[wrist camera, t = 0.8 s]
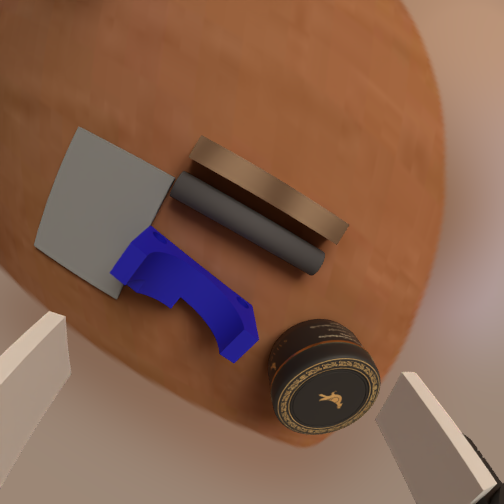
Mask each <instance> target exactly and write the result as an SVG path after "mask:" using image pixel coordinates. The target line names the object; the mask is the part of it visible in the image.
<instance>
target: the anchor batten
mask: <svg viewBox="0 0 504 504" xmlns="http://www.w3.org/2000/svg"><path fill="white" fill-rule="evenodd" d="M189 158H191V159H193V160H194V161H196V162H198V163H200V164H202V165H203V166H205V167H207V168H209V169H211V170H212V171H214V172H216V173H218V174H220V175H221V176H223V177H225V178H227V179H228V180H230V181H232V182H234V183H235V184H237V185H239V186H241V187H242V188H244V189H246V190H248V191H249V192H251V193H253V194H254V195H256V196H258V197H260V198H261V199H263V200H265V201H266V202H268V203H270V204H271V205H273V206H275V207H276V208H278V209H280V210H281V211H283V212H285V213H286V214H288V215H290V216H291V217H293V218H295V219H296V220H298V221H300V222H301V223H303V224H304V225H306V226H308V227H309V228H311V229H313V230H314V231H316V232H317V233H319V234H321V235H322V236H324V237H325V238H327V239H328V240H330V241H332V242H333V243H335V244H336V245H337V244H338V242H339V241H340V239H341V238H342V236H343V234H344V233H345V231H346V230H347V228H348V226H349V224H348V223H346V222H345V221H343V220H342V219H340V218H339V217H337V216H336V215H334V214H333V213H331V212H330V211H328V210H327V209H325V208H323V207H322V206H320V205H319V204H317V203H316V202H314V201H313V200H311V199H310V198H308V197H306V196H305V195H303V194H302V193H300V192H298V191H297V190H295V189H294V188H292V187H290V186H289V185H287V184H286V183H284V182H282V181H281V180H279V179H277V178H276V177H274V176H272V175H271V174H269V173H267V172H266V171H264V170H262V169H261V168H259V167H257V166H256V165H254V164H252V163H250V162H249V161H247V160H245V159H243V158H242V157H240V156H238V155H236V154H235V153H233V152H231V151H229V150H228V149H226V148H224V147H222V146H220V145H219V144H217V143H215V142H213V141H211V140H209V139H208V138H206V137H204V136H202V135H201V137H200V138H199V140H198V142H197V143H196V145H195V147H194V148H193V150H192V152H191V154H190V155H189Z"/></svg>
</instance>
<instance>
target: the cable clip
mask: <svg viewBox="0 0 504 504" xmlns="http://www.w3.org/2000/svg"><path fill="white" fill-rule="evenodd" d="M110 274H111V275H113V276H114V277H115V278H116V279H117V280H119V281H120V282H121V283H122V284H124V285H128V286H129V287H130V288H131V289H133V290H134V291H135V292H137V293H140V294H144V295H147V296H150V297H152V298H154V299H156V300H158V301H160V302H162V303H163V304H165V305H166V306H168V307H169V308H172V307H173V305H174V304H175V303H176V302H177V301H178V300H179V298H180V297H181V298H182V299H183V300H185V301H186V302H187V303H188V304H189V305H190V306H191V307H192V308H193V309H195V310H196V312H197V313H198V314H199V315H200V316H201V317H202V318H203V319H204V321H205V322H206V323H207V325H208V326H209V328H210V329H211V331H212V332H213V334H214V336H215V338H216V341H217V343H218V347H219V354H220V355H222V356H223V357H225V358H226V359H228V360H229V361H231V362H233V363H235V362H236V361H237V360H238V359H239V358H240V357H241V356H242V355H243V354H244V353H246V352H247V351H248V350H249V349H250V348H251V347H252V346H253V345H254V344H255V343H256V342H257V341H258V340H259V337H258V332H257V327H256V322H255V317H254V312H253V307H252V305H251V304H249V303H248V302H247V301H245V300H244V299H243V298H241V297H240V296H239V295H237V294H236V293H235V292H234V291H232V290H231V289H230V288H228V287H227V286H226V285H225V284H223V283H222V282H221V281H219V280H218V279H217V278H216V277H214V276H213V275H212V274H210V273H209V272H208V271H207V270H205V269H204V268H203V267H202V266H200V265H199V264H198V263H196V262H195V261H194V260H193V259H191V258H190V257H189V256H188V255H186V254H185V253H184V252H183V251H181V250H180V249H179V248H178V247H177V246H175V245H174V244H173V243H172V242H170V241H169V240H168V239H167V238H165V237H164V236H163V235H162V234H161V233H159V232H158V231H157V230H156V229H155V228H153V227H152V226H151V225H150V226H149V227H148V228H147V229H145V230H144V231H143V232H142V233H141V234H140V235H139V236H137V237H136V238H135V239H134V240H133V241H132V242H131V243H130V244H129V246H128V247H127V248H126V250H125V251H124V253H123V254H122V255H121V257H120V258H119V260H118V261H117V263H116V264H115V266H114V267H113V268H112V270H111V271H110Z"/></svg>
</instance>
